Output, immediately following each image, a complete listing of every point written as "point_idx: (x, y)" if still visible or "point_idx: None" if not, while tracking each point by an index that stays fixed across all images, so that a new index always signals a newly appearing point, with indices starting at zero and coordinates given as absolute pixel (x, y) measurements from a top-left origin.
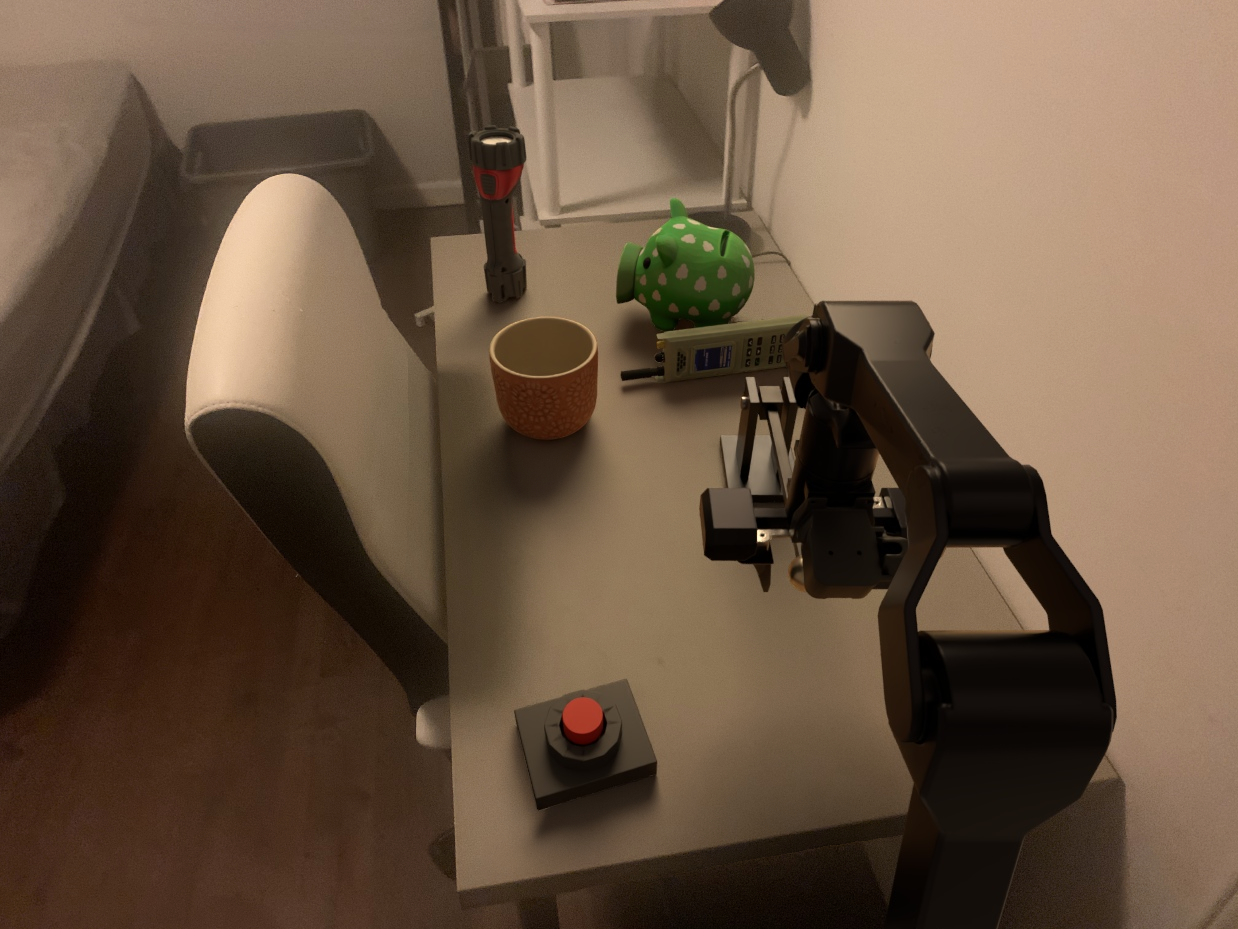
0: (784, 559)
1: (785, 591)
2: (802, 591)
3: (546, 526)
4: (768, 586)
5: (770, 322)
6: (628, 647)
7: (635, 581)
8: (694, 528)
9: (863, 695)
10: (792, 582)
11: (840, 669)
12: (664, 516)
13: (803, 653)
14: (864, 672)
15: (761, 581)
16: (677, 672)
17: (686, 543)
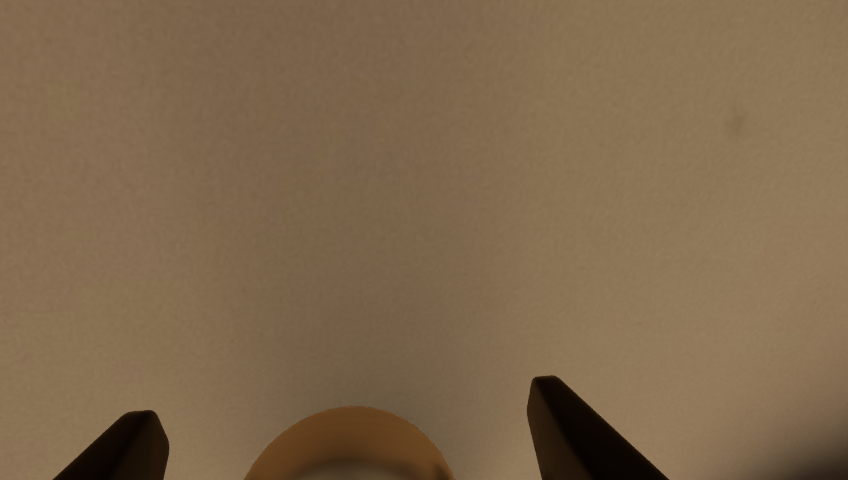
0: None
1: (355, 339)
2: (377, 413)
3: (829, 427)
4: (569, 422)
5: None
6: (800, 164)
7: (707, 335)
8: None
9: (110, 7)
10: (446, 470)
11: (200, 112)
12: None
13: (319, 165)
14: (116, 103)
15: (646, 465)
16: (703, 88)
17: None
